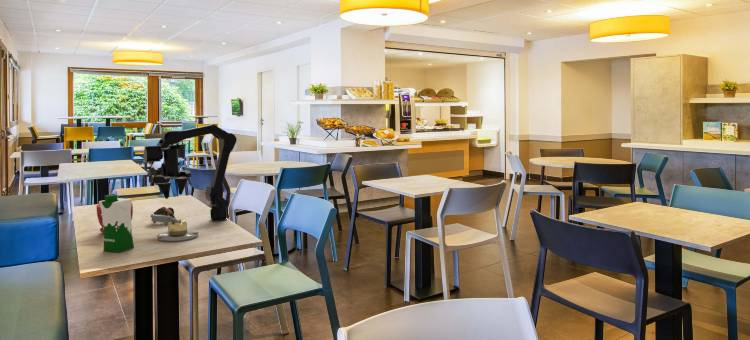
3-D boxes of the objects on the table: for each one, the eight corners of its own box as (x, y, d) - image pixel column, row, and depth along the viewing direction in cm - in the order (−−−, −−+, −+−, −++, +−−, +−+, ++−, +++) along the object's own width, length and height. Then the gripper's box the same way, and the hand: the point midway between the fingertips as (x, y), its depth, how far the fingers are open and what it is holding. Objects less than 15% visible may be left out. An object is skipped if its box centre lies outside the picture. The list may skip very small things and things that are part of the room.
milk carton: (99, 251, 188) (95, 195, 185) (119, 245, 196) (116, 191, 194) (119, 253, 185) (115, 197, 182) (138, 247, 193) (135, 192, 191)
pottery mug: (173, 226, 228) (161, 211, 225) (155, 235, 230) (144, 220, 228) (184, 214, 239) (173, 199, 236) (167, 222, 241) (156, 207, 239)
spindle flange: (206, 234, 211) (205, 217, 211) (178, 243, 198) (177, 225, 197) (177, 231, 218) (177, 214, 217) (148, 239, 204) (147, 222, 203)
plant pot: (90, 234, 212) (88, 204, 211) (118, 227, 224) (116, 199, 223) (114, 237, 207) (112, 207, 205) (141, 230, 219) (139, 201, 217)
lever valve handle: (191, 232, 209) (190, 216, 208) (177, 236, 203) (177, 220, 202) (161, 228, 216) (160, 213, 215) (147, 232, 210) (146, 216, 209)
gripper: (168, 157, 236) (171, 192, 238) (139, 162, 218) (142, 200, 220) (190, 158, 233) (193, 193, 235) (162, 163, 215) (165, 201, 217)
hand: (173, 196), depth 227 cm, fingers open, 9 cm apart
